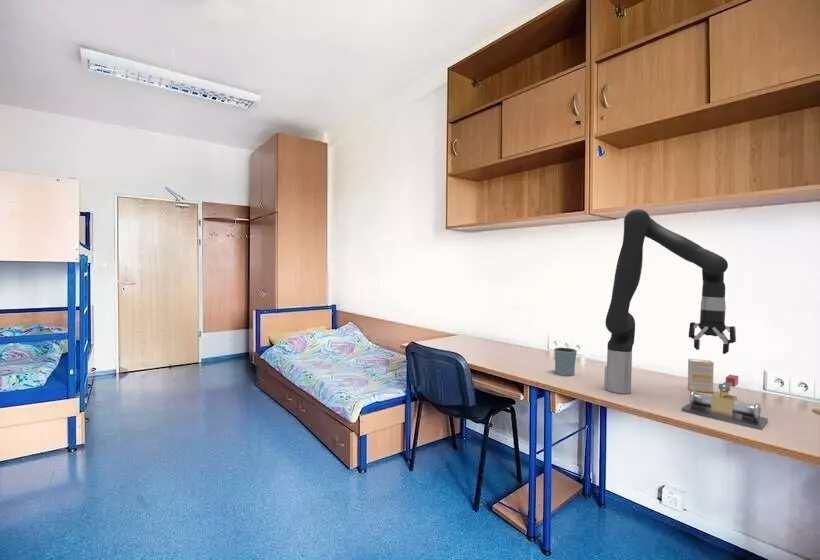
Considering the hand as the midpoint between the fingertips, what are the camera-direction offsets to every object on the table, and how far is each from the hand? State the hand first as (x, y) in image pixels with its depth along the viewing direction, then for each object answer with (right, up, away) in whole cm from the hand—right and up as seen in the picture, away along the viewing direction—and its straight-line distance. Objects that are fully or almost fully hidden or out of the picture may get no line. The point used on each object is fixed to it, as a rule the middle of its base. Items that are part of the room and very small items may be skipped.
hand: (710, 351), depth 155 cm
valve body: (-4, -20, -12) cm, 24 cm away
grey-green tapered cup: (-39, -19, +43) cm, 61 cm away
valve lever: (+1, -11, -8) cm, 14 cm away
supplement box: (+9, -20, +19) cm, 29 cm away
